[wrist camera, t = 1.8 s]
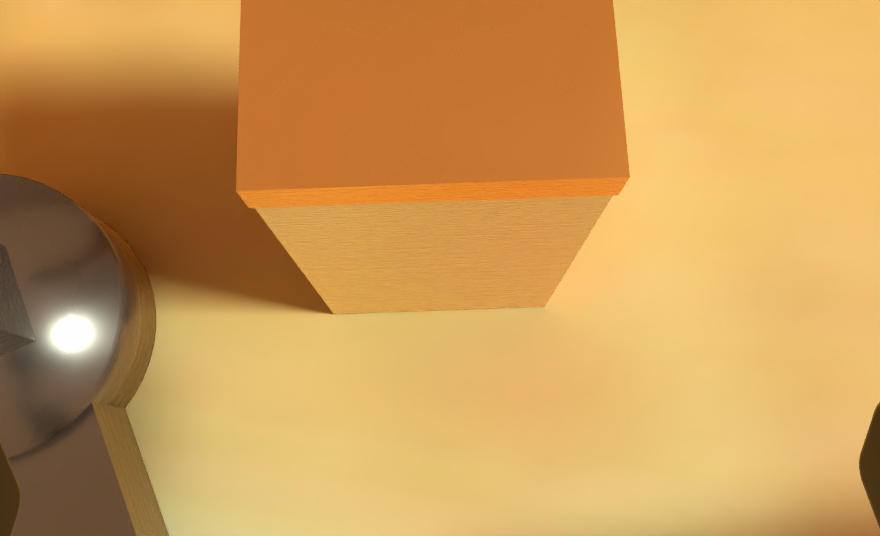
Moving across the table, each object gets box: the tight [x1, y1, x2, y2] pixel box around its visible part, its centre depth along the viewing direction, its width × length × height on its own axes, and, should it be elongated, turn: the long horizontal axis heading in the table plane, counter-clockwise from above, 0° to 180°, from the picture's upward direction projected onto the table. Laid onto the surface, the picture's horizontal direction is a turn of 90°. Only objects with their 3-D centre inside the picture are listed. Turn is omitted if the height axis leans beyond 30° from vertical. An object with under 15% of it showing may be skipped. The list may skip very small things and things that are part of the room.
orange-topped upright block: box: [236, 0, 630, 314], centre depth 17 cm, size 6×6×10 cm
